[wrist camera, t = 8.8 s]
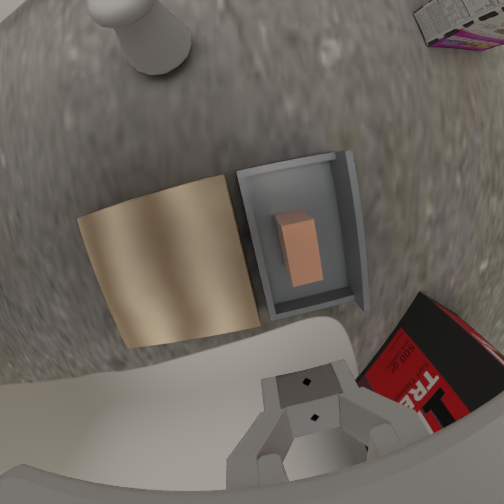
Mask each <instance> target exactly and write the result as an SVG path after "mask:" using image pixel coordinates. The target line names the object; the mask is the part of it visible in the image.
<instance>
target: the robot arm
mask: <svg viewBox="0 0 504 504" xmlns="http://www.w3.org/2000/svg"><path fill="white" fill-rule="evenodd" d="M261 385H262V393H263V403H264V412H262V413H260V414H259V415H258V417H257V418H256V420H255V421H254V423H253V424H252V425H251V427H250V428H249V430H248V431H247V432H246V434H245V435H244V437H243V438H242V439H241V441H240V442H239V443H238V445H237V446H236V447H235V449H234V450H233V452H232V453H231V454H230V455H229V457H228V458H227V470H226V490H213V491H164V490H163V491H162V490H147V489H135V488H127V487H119V486H112V485H105V484H99V483H94V482H89V481H84V480H79V479H74V478H70V477H66V476H62V475H58V474H54V473H51V472H47V471H44V470H41V469H38V468H35V467H32V466H28V465H25V464H21V465H18V466H16V467H14V468H12V469H10V470H8V471H7V472H5V473H4V474H2V475H0V504H504V391H503V392H501V393H500V394H498V395H497V396H496V397H494V398H493V399H491V400H490V401H488V402H487V403H485V404H484V405H482V406H481V407H479V408H477V409H476V410H474V411H473V412H471V413H469V414H468V415H466V416H464V417H463V418H461V419H459V420H457V421H456V422H454V423H452V424H450V425H448V426H447V427H445V428H443V429H441V430H439V431H437V432H435V433H433V434H431V435H430V434H429V432H428V430H427V429H426V427H425V425H424V424H423V422H422V421H421V419H420V417H419V416H418V414H417V412H416V411H415V410H413V409H411V408H409V407H406V406H404V405H402V404H399V403H397V402H395V401H393V400H390V399H388V398H386V397H384V396H382V395H379V394H377V393H375V392H373V391H371V390H369V389H366V388H364V387H361V388H359V387H358V385H357V383H356V381H355V379H354V377H353V375H352V373H351V371H350V369H349V367H348V365H347V363H346V361H345V360H344V359H342V360H339V361H335V362H332V363H330V364H326V365H322V366H319V367H314V368H311V369H307V370H303V371H299V372H294V373H289V374H284V375H280V376H276V377H271V378H266V379H262V380H261ZM336 427H341V428H342V429H344V430H345V431H346V432H347V433H349V434H350V435H352V436H353V437H355V438H356V439H357V440H359V441H360V442H362V443H363V444H364V445H366V446H367V447H368V454H367V460H366V462H363V463H360V464H357V465H354V466H351V467H347V468H344V469H340V470H337V471H334V472H330V473H326V474H322V475H318V476H314V477H309V478H305V479H300V480H295V481H290V482H289V480H288V477H287V474H286V472H285V469H284V466H283V461H284V459H285V456H286V454H287V452H288V450H289V448H290V446H291V444H292V442H293V440H294V439H293V438H297V437H301V436H305V435H308V434H312V433H316V432H320V431H324V430H328V429H332V428H336Z"/></svg>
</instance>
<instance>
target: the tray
mask: <svg viewBox="0 0 504 504" xmlns="http://www.w3.org/2000/svg"><path fill="white" fill-rule="evenodd" d="M236 173H237V177H238V181H239V186H240V190H241V194H242V199H243V203H244V207H245V211H246V216H247V220H248V224H249V229H250V233H251V237H252V242H253V246H254V250H255V255H256V259H257V263H258V267H259V272H260V276H261V280H262V285H263V289H264V293H265V298H266V302H267V306H268V311H269V315H270V319H271V321H274V320H278V319H282V318H287V317H291V316H295V315H299V314H304V313H308V312H312V311H316V310H320V309H323V308H327V307H331V306H335V305H339V304H342V303H346V302H350V301H353V300H355V301H356V302H357V304H358V305H359V306H360V307H361V309H362V310H363V311H364V312H366V311H370V297H369V279H368V265H367V254H366V243H365V233H364V225H363V216H362V209H361V201H360V195H359V188H358V182H357V175H356V170H355V164H354V158H353V153H352V150H351V151H338V152H329V153H323V154H317V155H311V156H305V157H300V158H294V159H289V160H284V161H279V162H274V163H269V164H264V165H260V166H255V167H250V168H246V169H242V170H237V171H236ZM296 209H301V210H303V211H304V212H305V213H307V214H308V215H309V216H310V217H312V218H313V219H314V223H315V229H316V235H317V241H318V247H319V254H320V260H321V267H322V274H323V280H320V281H316V282H312V283H308V284H304V285H300V286H295V287H293V286H292V283H291V281H290V278H289V276H288V274H287V271H286V269H285V267H284V263H283V258H282V253H281V248H280V243H279V238H278V233H277V228H276V224H275V219H274V214H278V213H283V212H287V211H292V210H296Z"/></svg>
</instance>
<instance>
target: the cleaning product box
mask: <svg viewBox="0 0 504 504" xmlns="http://www.w3.org/2000/svg"><path fill="white" fill-rule="evenodd" d="M355 381H356V383H357V385H358V387H359V388H361V387H364V388H366V389H369V390H371V391H373V392H375V393H377V394H379V395H382V396H384V397H386V398H388V399H390V400H393V401H395V402H397V403H399V404H402V405H404V406H406V407H409V408H411V409H413V410H415V411H416V412H417V414H418V416H419V417H420V419H421V421H422V422H423V424H424V425H425V427H426V429H427V430H428V432H429V434H430V435H431V434H433V433H435V432H437V431H439V430H441V429H443V428H445V427H447V426H448V425H450V424H452V423H454V422H456V421H457V420H459V419H461V418H463V417H464V416H466V415H468V414H469V413H471V412H473V411H474V410H476V409H477V408H479V407H481V406H482V405H484V404H485V403H487V402H488V401H490V400H491V399H493V398H494V397H496V396H497V395H498V394H500V393H501V392H503V391H504V356H503V355H502V354H501V353H500V352H499V351H497V350H496V349H495V348H494V347H493V346H492V345H491V344H490V343H489V342H488V341H486V340H485V339H484V338H483V337H482V336H481V335H480V334H479V333H477V332H476V331H475V330H474V329H473V328H472V327H471V326H469V325H468V324H467V323H466V322H465V321H464V320H462V319H461V318H460V317H459V316H458V315H456V314H455V313H453V312H452V311H450V310H449V309H447V308H445V307H444V306H442V305H441V304H439V303H437V302H436V301H434V300H433V299H431V298H429V297H428V296H426V295H424V294H423V293H421V292H419V293H418V294H417V296H416V298H415V299H414V301H413V302H412V304H411V305H410V307H409V308H408V310H407V312H406V313H405V315H404V316H403V317H402V319H401V320H400V322H399V323H398V325H397V326H396V328H395V329H394V331H393V332H392V333H391V335H390V336H389V338H388V339H387V340H386V342H385V343H384V344H383V346H382V347H381V348H380V350H379V351H378V352H377V354H376V355H375V356H374V358H373V359H372V360H371V361H370V363H369V364H368V365H367V366H366V368H365V369H364V370H363V371H362V373H361V374H360V375H359V376H358V377H357V379H356V380H355ZM365 446H366V445H365ZM366 449H367V452H368V447H367V446H366Z"/></svg>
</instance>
